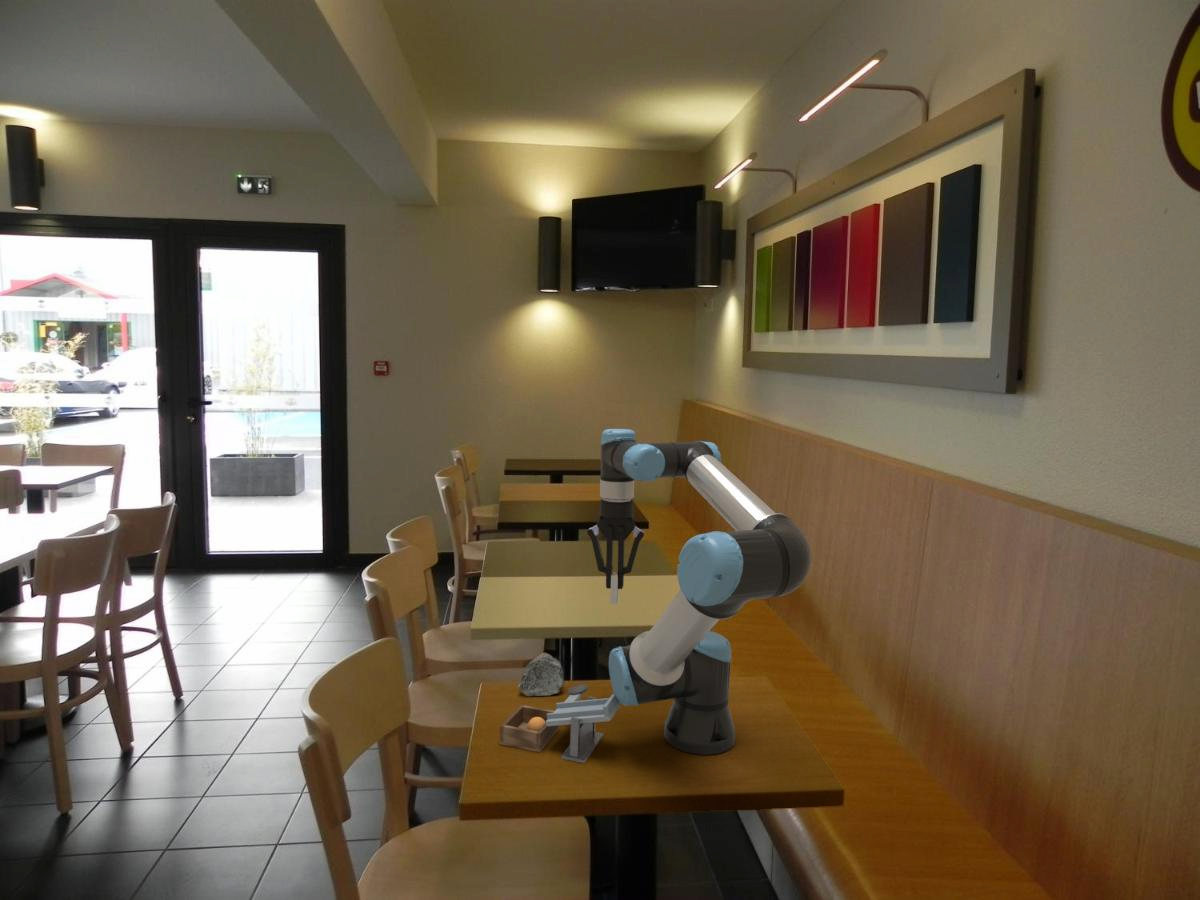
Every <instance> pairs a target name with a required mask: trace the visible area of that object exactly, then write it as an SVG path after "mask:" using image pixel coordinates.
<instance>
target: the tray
mask: <svg viewBox="0 0 1200 900" xmlns="http://www.w3.org/2000/svg"><path fill="white" fill-rule="evenodd" d="M554 711H555V710H552V709H546V708H541V707H536V706H531V705H530V706H529V705H524V704H520V705H519V706H518V707H517V708H516V709H515V710H514V711H513V713H511V714H510V715H509V716H508V718H506V720H504V721H503V723H502V724H501V725H500V726H499V745H503V746H506V747H507V746H508V747H513V748H516V749H517V748H518V749H521V750H527V751H530V752H531V751H532V752H536V753H541V751H543V749H544V748H545V747H546V745H547V744H548V743H549V742H550V741H551V739H552V738H553V736H554V735H555V734H557V731H559V730H560V729H559V726H560V725H556V726H546V723H545V724H544V725H543V726H542V727H541V729H540V730H539V731H533V730H528V723H529V721H530V720H531V719H532V718H534V717H541V718H542V719H544V720H545V722H546V721H547V714H548V713H553V712H554Z"/></svg>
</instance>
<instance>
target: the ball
mask: <svg viewBox="0 0 1200 900" xmlns="http://www.w3.org/2000/svg"><path fill="white" fill-rule="evenodd" d="M545 723H546V722H545V720H544V719H542V718H541V717H534V718H532V719H531V720H530V721H529V723H528V730H533V731H539V730H540V729H541V727H542V726H543V725H544V724H545Z"/></svg>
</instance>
